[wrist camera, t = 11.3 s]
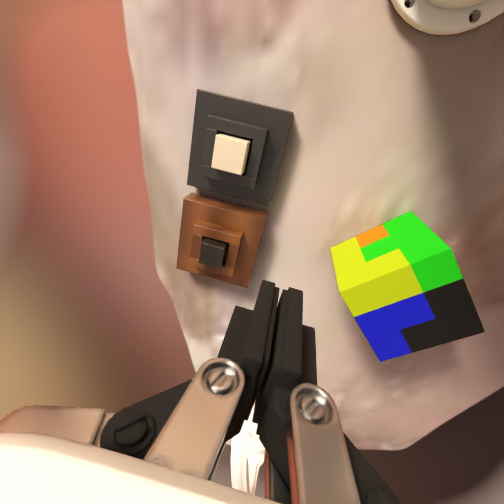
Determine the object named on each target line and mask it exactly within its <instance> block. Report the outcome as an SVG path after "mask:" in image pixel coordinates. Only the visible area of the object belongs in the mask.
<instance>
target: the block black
mask: <svg viewBox="0 0 504 504" xmlns="http://www.w3.org/2000/svg"><path fill="white" fill-rule="evenodd" d="M292 117H293V112H290V111H286V110H281V109H277V108H273V107H269V106H265V105H261V104H257V103H253V102H249V101H245V100H241V99H237V98H233V97H229V96H225V95H221V94H217V93H213V92H209V91H205V90H200V89H197V96H196V105H195V115H194V124H193V133H192V142H191V152H190V161H189V170H188V180H187V185H191V186H194V187H198V188H202V189H206V190H210V191H213V192H217V193H221V194H225V195H229V196H233V197H236V198H240V199H244V200H248V201H252V202H255V203H259V204H263V205H267V206H269V204H270V201H271V198H272V194H273V190H274V186H275V182H276V179H277V175H278V171H279V167H280V163H281V159H282V155H283V151H284V148H285V144H286V140H287V136H288V132H289V128H290V124H291V120H292ZM218 134H224V135H228V136H232V137H236V138H240V139H244V140H248V141H250V146H249V151H248V156H247V161H246V166H245V171H244V173H243V174H242V175H238V174H234V173H230V172H226V171H222V170H218V169H215V168H212V167H211V166H212V159H213V152H214V145H215V138H216V135H218Z"/></svg>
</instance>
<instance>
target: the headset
mask: <svg viewBox="0 0 504 504" xmlns="http://www.w3.org/2000/svg"><path fill="white" fill-rule="evenodd" d="M254 407H255V405H253V408H252V410H251V413H250V416H249V418H248V421H246V420H244V423H243V426H242V428H241V431H240V433H239V434H237V435H236V436H234V437H233V438H232V447H231V448H232V450H231V480H232V488H234V489H237V490H240V491H243V492H246V493H249V494H252V495H254V494H255V488H256V482H257V476H258V471H259V467H260V466H261V465H262V464H263V462H264V455H265V448H264V446H263V445H262V443H261V441H260V440H259V435H256V429H257V424H256V423H253V422H252V419H253V413H254Z"/></svg>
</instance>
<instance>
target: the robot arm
mask: <svg viewBox="0 0 504 504" xmlns="http://www.w3.org/2000/svg"><path fill="white" fill-rule="evenodd" d="M391 1H392V3H393V5H394V7H395V9H396V11H397V12H398V13H399V15H400V16H401V17H402V18H403V19H404V20H405V22H407V23H408V24H410V25H411V26H413V27H414V28H415V29H417V30H420V31H423V32H426V33H428V34H436V35H449V34H458V33H461V32H464V31H467V30H471V29H474V28H476V27H478V26H480V25H482V24H484V23H486V22H488V21H490V20H491V19H493V18H495V17H496V16H498V15H500V14H501V13H503V12H504V0H391ZM405 2H409V4H410V5H409V7H408V8H406V7H405ZM469 16H472V21H471V22H470V21H469ZM278 296H279V288H277V287H275V283H273V282H269V281H265V280H262V283H261V286H260V290H259V293H258V297H257V300H256V304H255V307H254V311H253V310H249V309H246V308H242V307H239V306H235V309H234V312H233V314H232V317H231V320H230V323H229V326H228V329H227V332H226V334H225V337H224V340H223V343H222V346H221V349H220V352H219V354H218V357H217V358H213V359H210V360H208V361H206V362H205V363H203V365H202V366H201V367H200V368H199V370H198V371H197V373H196V375H195V376H194V378H193V379H191V380H189V381H187V382H185V383H182V384H180V385H178V386H175V387H173V388H171V389H168V390H166V391H164V392H161V393H159V394H157V395H154V396H152V397H150V398H147V399H145V400H143V401H140V402H138V403H136V404H133V405H131V406H129V407H127V408H124V409H122V410H121V411H119V412H117V413H105V409H94V408H75V407H57V406H38V405H34V406H25V407H23V408H20V409H17V410H15V411H13V412H12V413H10V414H9V415H7V416H6V417H4V418H3V419H2V420H1V421H0V504H401V503H400V501H399V500H398V499H397V497H396V496H395V494H394V493H393V491H392V490H391V489H390V488H389V487H388V485H387V484H386V483H385V482H384V481H383V480H382V478H381V477H380V476H379V475H378V473H377V472H376V471H375V470H374V469H373V467H372V466H371V465H370V464H369V463H368V461H367V460H366V459H365V458H364V457H363V455H361V453H360V452H359V451H358V449H357V448H356V447H355V446H354V445H353V443H352V442H351V441H350V440H349V439H348V437H347V436H346V435H345V434H344V433H343V430H342V426H341V422H340V418H339V414H338V410H337V407H336V404H335V402H334V400H333V399H332V398H331V396H330V395H329V394H328V393H327V392H326V391H325V390H324V389H322V388H320V387H319V386H317V370H316V345H315V329H314V328H312V327H309V326H305V325H302V312H303V291H301V290H297V289H294V288H290V287H289V289H288V290H284V289H283V291H282V294H281V297H280V300H279V303H278ZM277 303H278V306H277ZM255 399H256V401H255ZM254 402H255V407H254V413H253V419H252V422H253V423H256V424H257V429H256V435H259V440H260V441H261V443H262V445H263V446H264V448H265V455H264V478H265V498H262V497H259V496H256V495H252V494H249V493H246V492H243V491H240V490H237V489H234V488H230V487H227V486H224V485H221V484H218V483H215V482H211V480H212V477H213V474H214V472H215V470H216V467H217V464H218V462H219V459H220V457H221V454H222V452H223V449H224V447H225V444H226V441H228V440H229V439H231V438H233V437H234V436H236V435H237V434H239V433H240V431H241V428H242V426H243V423H244V420H246V421H248V418H249V416H250V413H251V410H252V408H253V405H254Z"/></svg>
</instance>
